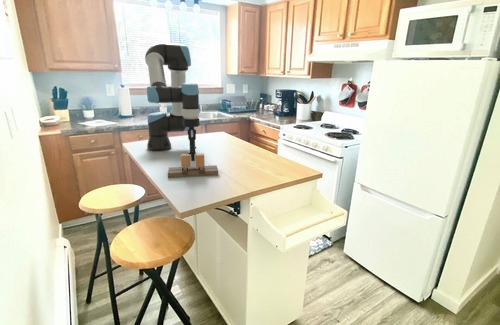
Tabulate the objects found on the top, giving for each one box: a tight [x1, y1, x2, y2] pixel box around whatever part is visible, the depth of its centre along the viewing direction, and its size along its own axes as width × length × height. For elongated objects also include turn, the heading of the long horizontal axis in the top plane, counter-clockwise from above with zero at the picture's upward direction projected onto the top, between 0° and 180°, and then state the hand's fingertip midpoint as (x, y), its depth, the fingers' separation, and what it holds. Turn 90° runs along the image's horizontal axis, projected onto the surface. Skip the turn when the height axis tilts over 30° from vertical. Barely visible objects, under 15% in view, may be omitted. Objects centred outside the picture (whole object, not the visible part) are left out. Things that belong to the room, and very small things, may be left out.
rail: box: [167, 164, 219, 179], centre depth 133 cm, size 8×24×2 cm, turn 103°
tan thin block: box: [180, 152, 206, 171], centre depth 132 cm, size 3×11×10 cm, turn 103°
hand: (193, 164), depth 132 cm, fingers open, 7 cm apart
